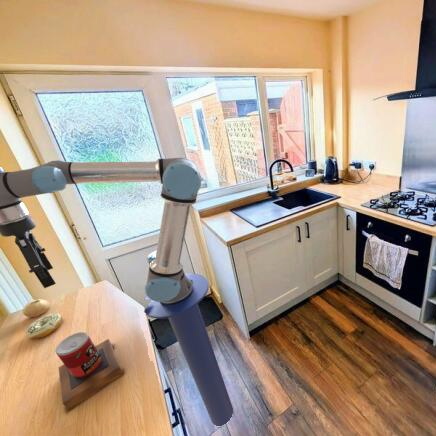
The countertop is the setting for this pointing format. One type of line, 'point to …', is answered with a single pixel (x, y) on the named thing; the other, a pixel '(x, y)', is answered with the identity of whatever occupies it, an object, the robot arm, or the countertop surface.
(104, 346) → the wooden picture frame
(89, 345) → the canned food
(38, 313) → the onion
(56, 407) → the countertop surface
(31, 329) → the decorated donut
